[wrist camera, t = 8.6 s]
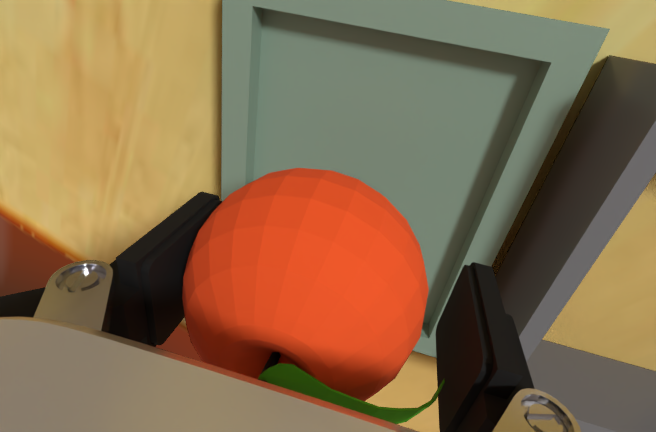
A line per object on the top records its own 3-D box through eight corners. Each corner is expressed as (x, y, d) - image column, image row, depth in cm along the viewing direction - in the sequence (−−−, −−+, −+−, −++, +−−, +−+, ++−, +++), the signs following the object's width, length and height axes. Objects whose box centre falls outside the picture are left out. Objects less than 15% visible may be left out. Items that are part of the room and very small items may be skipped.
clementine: (495, 206, 12) (574, 406, 6) (396, 332, 15) (381, 537, 9) (277, 101, 12) (123, 190, 6) (229, 252, 15) (104, 404, 9)
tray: (584, 27, 13) (609, 29, 11) (442, 332, 21) (444, 360, 19) (246, -33, 14) (222, -40, 13) (236, 273, 22) (220, 293, 21)
